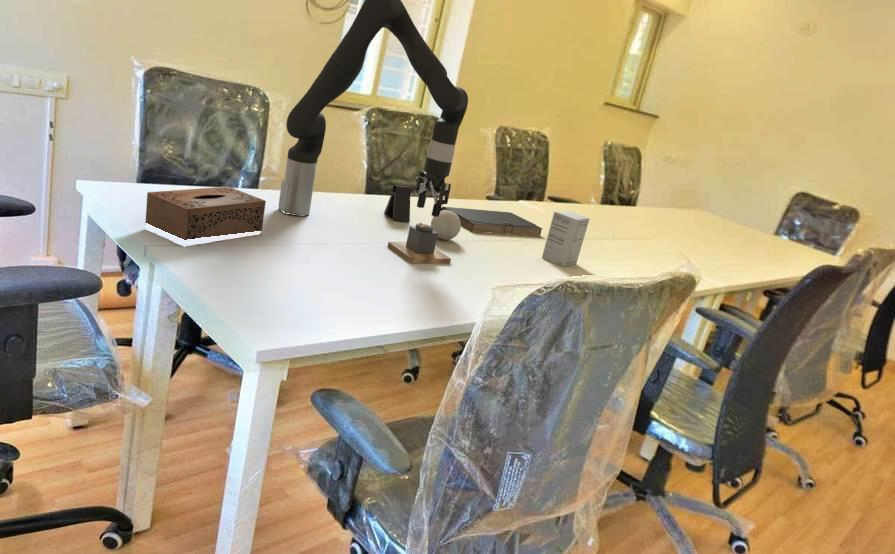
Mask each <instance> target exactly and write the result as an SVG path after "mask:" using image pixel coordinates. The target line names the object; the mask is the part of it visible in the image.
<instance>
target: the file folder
mask: <svg viewBox="0 0 895 554" xmlns="http://www.w3.org/2000/svg"><path fill="white" fill-rule="evenodd" d="M442 210H450V211H452V212H454V213H456V214H457V216H458V217H459V219H460V222H461V225H462V226H461V227H463V226H464V227H463V228H465V229H466V228H467V231H470V232H472V231H474V232H473V233H484V232H491V233H490V234H505V233H511V234H510V235H523V234H528V235H527V236H535V235H540V236H541V235H542V230H543V227H540V226H539V225H537V224H535V223H533V222H531V221H529V220H527V219H526V218H523V217H521V216H519V215H517V214H514V213H513V212H510V211H497V210H486V209H485V210H484V209H475V208H463V207H452V206H451V207H450V206H441V211H442Z"/></svg>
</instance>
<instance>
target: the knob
mask: <svg viewBox="0 0 895 554" xmlns="http://www.w3.org/2000/svg"><path fill="white" fill-rule="evenodd" d="M437 236H438V233H437V232H435V231H434V230H433V227H432V226H431V225H429V224H427V223H425V224H424V223H423V222H419V223H416V224H415V225H414V226H413V225H409V229H408V234H407V239H406V242H407V243H406V247H407V248H409V249H410V250H412V251H413V252H414V253H416V254H434V250H435V248H436V244H437V239H438V237H437Z"/></svg>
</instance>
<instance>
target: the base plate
mask: <svg viewBox="0 0 895 554" xmlns="http://www.w3.org/2000/svg"><path fill="white" fill-rule="evenodd" d="M406 243H407V241H406V242H405V241H404V242H403V241H388V242H387V247H388V248H389V249H390V248H391V249H390V250H392V251H393V252H394V251H395V253H396V254H397V255H399V257H401V258H403V259H404V260H405V261H406V262H408V263H410V264H451V262H452V258H451V257H450V256H448V255H446V254H445V253H443V252H442V251H440V250H439V249H438V248H436V247H435V250H434V254H416V253H414V252H413V251H412V250H410V249H409V248H407V247H406Z"/></svg>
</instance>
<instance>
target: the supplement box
mask: <svg viewBox="0 0 895 554" xmlns="http://www.w3.org/2000/svg"><path fill="white" fill-rule="evenodd" d="M551 219H552V220H551V222H550V227H549V230H548V233H547V236H546V237H547V238H546V241H545V244H544V247H543V252H542V255H541V256H542V257H541V258H542V259H544V260H546V261H547V262H550V263H553V264H556V265H557V266H560V267H563V268H564V267H565V268H566V267H569V266H574V265H577V263H578V259H579V256H580V253H581V249H582V247H583V246H582V245H583V243H584V239H585V237H586V232H587V230H588V225H589V223H590V218H589V217H588V216H587V217H586V216H584V215H581V214H578V213H575V212H573V211H570V210H562V211H561V210H559V211H553V215H552V218H551Z"/></svg>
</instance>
